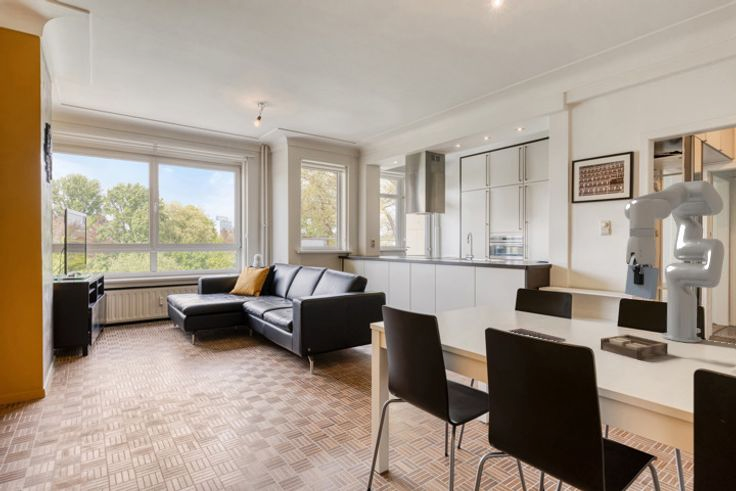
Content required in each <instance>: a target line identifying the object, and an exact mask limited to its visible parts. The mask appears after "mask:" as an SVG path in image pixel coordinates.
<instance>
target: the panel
mask: <svg viewBox="0 0 736 491" xmlns="http://www.w3.org/2000/svg"><path fill="white" fill-rule="evenodd" d="M636 267H637V266H636ZM638 268H639V267H638ZM659 272H660V268H658V267H654V266H653V267H647V266H643V272H642V274H644V285H636V284H634V273H633V270H632V269H631V268H630V267H629V264H627V273H626V282H625V292H624V294H626V295H629V296H634V297H638V298H642V299H646V300H649V301H650V300H656V299H657V298H656V297H657V290H658V284H659V274H660V273H659Z"/></svg>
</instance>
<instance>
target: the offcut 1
mask: <svg viewBox="0 0 736 491" xmlns="http://www.w3.org/2000/svg"><path fill="white" fill-rule="evenodd" d="M609 343H612V344H616V345H620V346H624V347H626V344H631V340H627V339H622V338H613V339H609Z"/></svg>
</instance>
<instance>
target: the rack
mask: <svg viewBox="0 0 736 491" xmlns="http://www.w3.org/2000/svg"><path fill="white" fill-rule="evenodd" d="M613 338H622V339H627V340H631V343H638V344H642V345H646V346H643V347H638V348H637V350H636V349H632V348H628V347H624V346H620V345H616V344H612V343H609V339H613ZM600 351H603V352H604V351H605V352H609V353H611V354H615V355H619V356H623V357H627V358H630V359H634V360H637V361H644V360H648V359H654V358H659V357H664V356H668V343H666V342H663V341H659V340H655V339H654V340H653V339H650V338H645V337H640V336H636V335H633V334H632V335H631V334H622V335H616V336H609V337H602V338H600Z"/></svg>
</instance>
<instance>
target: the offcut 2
mask: <svg viewBox="0 0 736 491" xmlns="http://www.w3.org/2000/svg"><path fill="white" fill-rule="evenodd" d="M643 346H646V345H642V344H638V343H631V344H626V347H628V348H632V349H636V350H637V348H638V347H643Z"/></svg>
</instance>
